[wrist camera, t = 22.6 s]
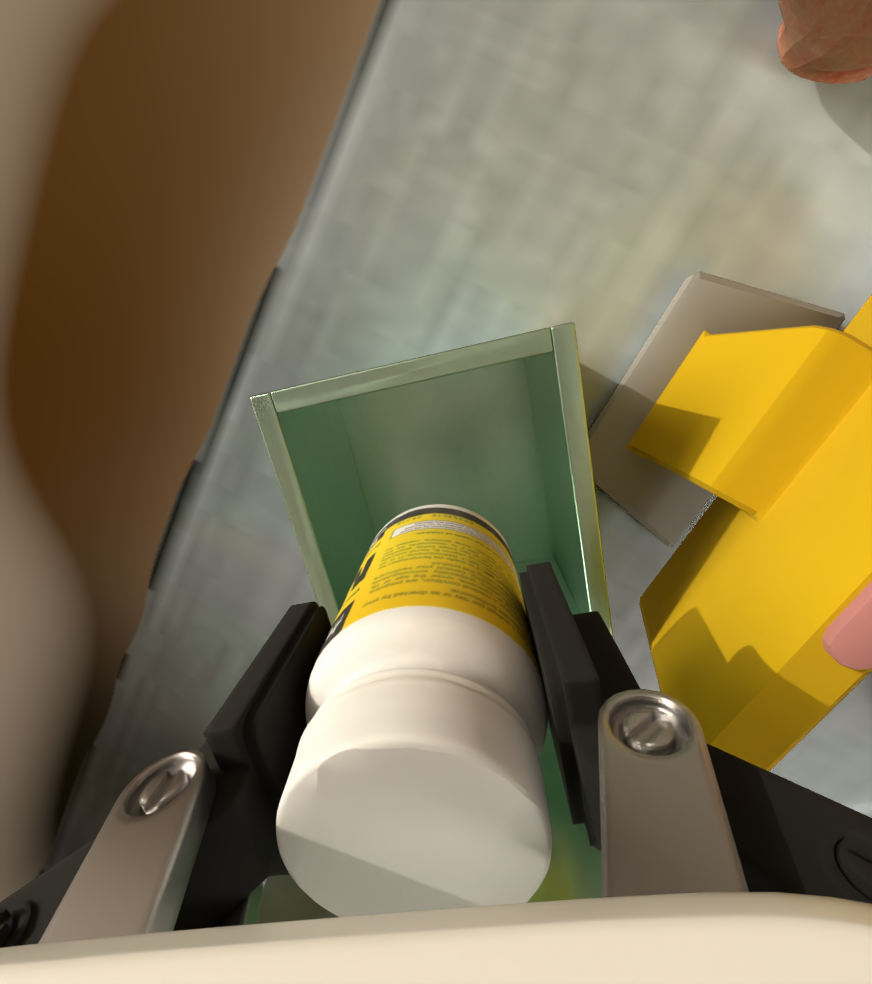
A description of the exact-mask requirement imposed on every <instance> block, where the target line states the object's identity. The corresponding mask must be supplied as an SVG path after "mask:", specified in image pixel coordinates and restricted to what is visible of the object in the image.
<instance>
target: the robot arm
mask: <svg viewBox="0 0 872 984" xmlns="http://www.w3.org/2000/svg"><path fill="white" fill-rule="evenodd" d="M526 566H527V572H521V573H519V577H520V583H521V588H522V594H523V599H524V605H525V610H526V616H527V621H528V624H529V628H530V632H531V636H532V640H533V645H534V649H535V652H536V656H537V660H538V664H539V668H540V672H541V676H542V680H543V685H544V689H545V695H546V701H547V709H548V722H549V726H550V731H551V735H552V739H553V743H554V748H555V752H556V756H557V760H558V764H559V769H560V773H561V777H562V781H563V786H564V790H565V794H566V798H567V803H568V807H569V811H570V815H571V819H572V823H573V825H574V824H585V828H586V832H587V835H588V839H589V843H590V846H594V847H595V848H597V849H598V850H599V851H601V855H602V891H603V898H587V899H572V900H559V901H545V902H532V903H518V904H505V905H492V906H478V907H465V908H451V909H438V910H424V911H411V912H398V913H386V914H373V915H361V916H348V917H336V918H323V919H311V920H299V921H286V922H274V923H262V924H258V923H259V917H260V911H261V905H262V898H263V881H265V880H266V879H267V878H268V876H280V875H290V874H289V872H288V870H287V868H286V866H285V865H284V863H283V860H282V858H281V855H280V852H279V848H278V844H277V837H276V818H277V810H278V807H279V803H280V799H281V797H282V794H283V791H284V788H285V785H286V783H287V780H288V777H289V774H290V771H291V768H292V766H293V763H294V760H295V757H296V752H297V749H298V745H299V742H300V739H301V737H302V734H303V732H304V730H305V729H306V727H307V723H306V714H305V699H306V691H307V686H308V682H309V678H310V675H311V672H312V670H313V668H314V665H315V662H316V659H317V657H318V655H319V653H320V650H321V648H322V646H323V644H324V643H325V641H326V639H327V636H328V634H329V631H330V629H331V627H332V626H331V623H330V620H329V617H328V614H327V611H326V609H325V608H324V607H323V606H318V604H317V603H316V602H309V603H303V604H297V605H292V606H291V607H290V608H289V609H288V611H287V612H286V614H285V615H284V617H283V618H282V620H281V621H280V623H279V624H278V625H277V627H276V628H275V630H274V631H273V633H272V634H271V636H270V637H269V639H268V640H267V641H266V643H265V644H264V646H263V647H262V649H261V650H260V652H259V653H258V655H257V656H256V657H255V659H254V660H253V662H252V663H251V665H250V666H249V668H248V669H247V671H246V672H245V673H244V675H243V676H242V678H241V679H240V681H239V682H238V684H237V685H236V687H235V688H234V689H233V691H232V692H231V694H230V695H229V697H228V698H227V700H226V701H225V703H224V704H223V706H222V707H221V708H220V710H219V711H218V713H217V714H216V716H215V717H214V719H213V720H212V722H211V723H210V724H209V726H208V727H207V729H206V730H205V732H204V733H203V734H204V736H205V738H206V742H205V743H204V745H203V746H202V748H201V749H200V751H199V750H197V749H184V750H180V751H176V752H173V753H171V754H169V755H166V756H164V757H162V758H160V759H159V760H157V761H156V762H154V763H152V764H151V765H149V766H148V767H147V768H145V769H144V770H143V771H142V772H140V773H139V774H138V775H137V776H136V777H135V778H134V779H133V780H132V781H131V782H130V783H129V784H128V785H127V786H126V787H125V789H124V790H123V792H122V793H121V795H120V796H119V797H118V799H117V801H116V803H115V804H114V806H113V808H112V810H111V812H110V813H109V815H108V817H107V819H106V821H105V823H104V824H103V826H102V828H101V830H100V832H99V834H98V835H97V837H96V838H94V839H93V840H91V841H90V842H88V843H87V844H85V845H84V846H82V847H81V848H80V849H78V850H77V851H75V852H74V853H72V854H71V855H69V856H68V857H66V858H65V859H63V860H62V861H60V862H59V863H57V864H56V865H54V866H53V867H52V868H50V869H49V870H47V871H46V872H44V873H43V874H41V875H40V876H38V877H37V878H35V879H34V880H32V881H31V882H29V883H28V884H27V885H25V886H24V887H22V888H21V889H20V890H18V891H16V892H15V893H13V894H12V895H10V896H9V897H7V898H6V899H4V900H3V901H2V902H0V984H872V818H870V817H868V816H866V815H864V814H861V813H859V812H857V811H855V810H853V809H850V808H848V807H846V806H844V805H842V804H839V803H837V802H835V801H833V800H831V799H828V798H826V797H824V796H822V795H820V794H817V793H815V792H813V791H811V790H809V789H806V788H804V787H802V786H800V785H798V784H795V783H793V782H791V781H789V780H787V779H784V778H782V777H780V776H778V775H776V774H773V773H771V772H769V771H767V770H765V769H762V768H760V767H758V766H756V765H754V764H751V763H749V762H747V761H745V760H743V759H740V758H738V757H736V756H734V755H732V754H729V753H727V752H725V751H723V750H721V749H718V748H716V747H714V746H712V745H710V744H707V743H706V741H705V737H704V734H703V730H702V727H701V725H700V723H699V721H698V719H697V717H696V715H695V714H694V713H693V712H692V711H691V710H690V709H689V708H688V707H687V706H686V705H684V704H683V703H681V702H680V701H678V700H676V699H675V698H673V697H671V696H669V695H666V694H663V693H660V692H658V691H651V690H645V689H640V687H639V686H638V684H637V682H636V680H635V678H634V676H633V674H632V672H631V671H630V669H629V667H628V665H627V663H626V661H625V659H624V658H623V656H622V654H621V652H620V650H619V648H618V646H617V645H616V643H615V641H614V639H613V637H612V635H611V633H610V632H609V630H608V628H607V626H606V624H605V622H604V620H603V619H602V617H601V615H600V613H599V612H598V611H593V612H586V613H580V614H573V615H572V613H571V610H570V608H569V606H568V603H567V601H566V599H565V596H564V594H563V592H562V589H561V587H560V585H559V582H558V580H557V578H556V575H555V573H554V571H553V568H552V566H551V564H550V562H544V563H538V564H532V565H526Z"/></svg>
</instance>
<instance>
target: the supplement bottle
mask: <svg viewBox="0 0 872 984" xmlns="http://www.w3.org/2000/svg"><path fill="white" fill-rule="evenodd" d="M305 714H306V723H307V727H306V729H305V730H304V732H303V734H302V737H301V739H300V742H299V745H298V749H297V752H296V757H295V760H294V763H293V766H292V768H291V771H290V774H289V777H288V780H287V783H286V785H285V788H284V791H283V794H282V797H281V799H280V803H279V807H278V810H277V818H276V837H277V844H278V848H279V852H280V855H281V858H282V860H283V863H284V865H285V866H286V868H287V870H288V872H289V874H290V875H291V876H292V878H293V879H294V881H295V882H296V883H297V884H298V886H299V887H300V888H301V889H302V890H303V891H304V892H305V893H306V894H307V895H308V896H309V897H311V898H312V899H313V900H314V901H315V902H316V903H318V904H319V905H320V906H322V907H323V908H325V909H326V910H328V911H330V912H331V913H333V914H335V915H336V916H338V917H348V916H361V915H373V914H386V913H398V912H411V911H424V910H438V909H451V908H465V907H478V906H492V905H505V904H518V903H527V902H528V901H529V899H530V898H531V897H532V896H533V894H534V893H535V892H536V891H537V890H538V888H539V887H540V885H541V883H542V881H543V879H544V878H545V876H546V874H547V871H548V868H549V865H550V860H551V851H552V830H551V824H550V817H549V811H548V805H547V799H546V793H545V787H544V781H543V770H542V766H541V761H540V755H541V752H542V750H543V747H544V743H545V739H546V734H547V724H548V709H547V701H546V695H545V689H544V685H543V680H542V676H541V672H540V668H539V664H538V660H537V656H536V652H535V649H534V645H533V640H532V636H531V632H530V628H529V624H528V621H527V616H526V611H525V607H524V603H523V598H522V594H521V590H520V585H519V581H518V577H517V573H516V569H515V565H514V561H513V558H512V555H511V552H510V549H509V547H508V545H507V543H506V541H505V539H504V538H503V536H502V535H501V534H500V532H499V531H498V530H497V529H496V528H495V527H494V526H493V525H492V524H491V523H490V522H489V521H488V520H486V519H485V518H483V517H482V516H480V515H478V514H477V513H475V512H472V511H470V510H468V509H465V508H462V507H458V506H453V505H445V504H433V505H425V506H420V507H416V508H413V509H410V510H408V511H405V512H403V513H402V514H400V515H398V516H396V517H395V518H393V519H392V520H391V521H390V522H388V523H387V524H386V525H385V526H384V527H383V528H382V529H381V530H380V532H379V533H378V534H377V536H376V537H375V539H374V541H373V542H372V544H371V546H370V548H369V550H368V552H367V554H366V556H365V559H364V561H363V563H362V565H361V567H360V569H359V571H358V574H357V576H356V578H355V580H354V582H353V584H352V586H351V588H350V589H349V591H348V593H347V596H346V598H345V601H344V603H343V605H342V607H341V610H340V612H339V614H338V615H337V617H336V619H335V622H334V624H333V625H332V627H331V629H330V631H329V634H328V636H327V639H326V641H325V643H324V644H323V646H322V648H321V650H320V653H319V655H318V657H317V659H316V662H315V665H314V668H313V670H312V672H311V675H310V678H309V682H308V686H307V691H306V699H305Z"/></svg>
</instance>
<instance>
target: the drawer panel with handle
mask: <svg viewBox="0 0 872 984" xmlns="http://www.w3.org/2000/svg"><path fill="white" fill-rule="evenodd" d="M540 761H541V766H542V770H543V781H544V787H545V793H546V799H547V805H548V811H549V817H550V824H551V830H552V851H551V860H550V865H549V868H548V871H547V874H546V876H545V878H544V879H543V881H542V883H541V885H540V887H539V888H538V890H537V891H536V892H535V893H534V894H533V896H532V897H531V898H530V899H529V901H528V902H527V903H532V902H545V901H559V900H572V899H587V898H603V891H602V855H601V851H599V850H598V849H597V848H595V847H594V846H590V843H589V839H588V835H587V832H586V828H585V824H574V825H573V823H572V819H571V815H570V811H569V807H568V803H567V798H566V794H565V790H564V786H563V781H562V777H561V773H560V769H559V764H558V760H557V756H556V752H555V748H554V743H553V739H552V735H551V731H550V726H549V722H548V724H547V734H546V739H545V743H544V747H543V750H542V752H541V755H540ZM336 917H338V916H336V915H335V914H333V913H331V912H330V911H328V910H326V909H325V908H323V907H322V906H320V905H319V904H318V903H316V902H315V901H314V900H313V899H312V898H311V897H309V896H308V895H307V894H306V893H305V892H304V891H303V890H302V889H301V888H300V887H299V886H298V884H297V883H296V882H295V881H294V879H293V878H292V876H291V875H280V876H268V878H267V881H266V883H265V885H264V888H263V898H262V905H261V911H260V917H259V923H258V924H262V923H274V922H286V921H299V920H311V919H323V918H336Z"/></svg>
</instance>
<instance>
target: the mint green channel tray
mask: <svg viewBox="0 0 872 984" xmlns="http://www.w3.org/2000/svg"><path fill="white" fill-rule="evenodd" d="M250 400H251V403H252V406H253V409H254V412H255V415H256V418H257V421H258V424H259V427H260V430H261V433H262V436H263V439H264V442H265V445H266V448H267V451H268V454H269V457H270V460H271V463H272V466H273V469H274V472H275V475H276V478H277V481H278V484H279V487H280V490H281V493H282V496H283V499H284V502H285V505H286V508H287V511H288V514H289V517H290V520H291V523H292V526H293V529H294V532H295V535H296V538H297V541H298V544H299V547H300V550H301V553H302V556H303V559H304V562H305V565H306V568H307V571H308V574H309V577H310V580H311V583H312V586H313V589H314V592H315V595H316V599H317V602H318V605H319V606H323V607H324V608H325V609H326V611H327V614H328V617H329V620H330V623H331V626H332V625H333V624H334V622H335V619H336V617H337V615H338V614H339V612H340V610H341V607H342V605H343V603H344V601H345V598H346V596H347V593H348V591H349V589H350V588H351V586H352V584H353V582H354V580H355V578H356V576H357V574H358V571H359V569H360V567H361V565H362V563H363V561H364V559H365V556H366V554H367V552H368V550H369V548H370V546H371V544H372V542H373V541H374V539H375V537H376V536H377V534H378V533H379V532H380V530H381V529H382V528H383V527H384V526H385V525H386V524H387V523H388V522H390V521H391V520H392V519H393V518H395V517H396V516H398V515H400V514H402V513H403V512H405V511H408V510H410V509H413V508H416V507H420V506H425V505H433V504H445V505H453V506H458V507H462V508H465V509H468V510H470V511H472V512H475V513H477V514H478V515H480V516H482V517H483V518H485V519H486V520H488V521H489V522H490V523H491V524H492V525H493V526H494V527H495V528H496V529H497V530H498V531H499V532H500V534H501V535H502V536H503V538H504V539H505V541H506V543H507V545H508V547H509V549H510V552H511V555H512V558H513V561H514V565H515V569H516V573H517V577H518V581H519V585H520V590H521V594H522V588H521V583H520V577H519V573H521V572H527V566H526V565H532V564H538V563H544V562H550V564H551V566H552V568H553V571H554V573H555V575H556V578H557V580H558V582H559V585H560V587H561V589H562V592H563V594H564V596H565V599H566V601H567V603H568V606H569V608H570V610H571V613H572V615H573V614H580V613H586V612H593V611H598V612H599V613H600V615H601V617H602V619H603V620H604V622H605V624H606V626H607V628H608V630H609V632H610V633H611V635H612V637H613V633H612V625H611V617H610V609H609V601H608V592H607V584H606V576H605V568H604V560H603V551H602V543H601V535H600V527H599V519H598V510H597V502H596V494H595V486H594V478H593V470H592V461H591V453H590V445H589V437H588V429H587V420H586V412H585V404H584V396H583V388H582V380H581V371H580V363H579V355H578V347H577V339H576V330H575V324H574V323H573V322H570V323H566V324H561V325H557V326H553V327H550V328H544V329H540V330H535V331H531V332H527V333H522V334H518V335H514V336H509V337H505V338H501V339H496V340H492V341H488V342H484V343H479V344H475V345H471V346H466V347H462V348H458V349H453V350H449V351H445V352H440V353H436V354H432V355H427V356H423V357H419V358H414V359H410V360H406V361H401V362H397V363H393V364H388V365H384V366H380V367H375V368H371V369H367V370H362V371H358V372H354V373H349V374H345V375H341V376H336V377H332V378H328V379H323V380H319V381H315V382H311V383H306V384H302V385H298V386H293V387H289V388H285V389H280V390H276V391H272V392H267V393H263V394H259V395H254V396H251V397H250ZM522 598H523V594H522ZM523 603H524V599H523ZM524 607H525V605H524ZM525 611H526V610H525Z"/></svg>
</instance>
